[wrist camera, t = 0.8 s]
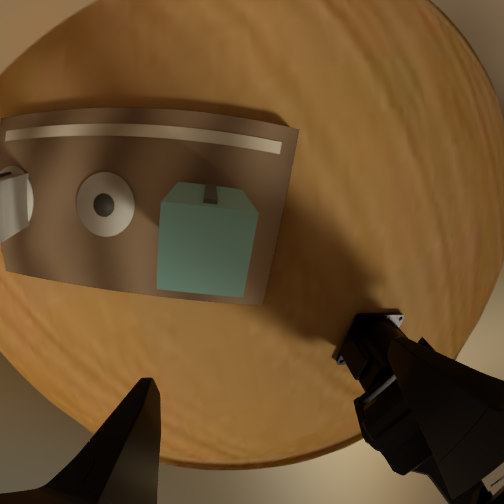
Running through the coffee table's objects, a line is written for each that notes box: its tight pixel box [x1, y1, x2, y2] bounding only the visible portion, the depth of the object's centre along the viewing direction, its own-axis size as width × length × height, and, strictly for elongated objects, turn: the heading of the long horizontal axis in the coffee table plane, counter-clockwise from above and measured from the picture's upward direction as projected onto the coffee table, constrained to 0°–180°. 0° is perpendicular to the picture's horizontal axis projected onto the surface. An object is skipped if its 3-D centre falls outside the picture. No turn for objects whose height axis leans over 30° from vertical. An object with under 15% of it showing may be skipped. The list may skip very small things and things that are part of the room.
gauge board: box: [0, 107, 299, 306], centre depth 15 cm, size 24×13×5 cm, turn 79°
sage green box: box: [157, 182, 259, 297], centre depth 14 cm, size 4×4×6 cm
